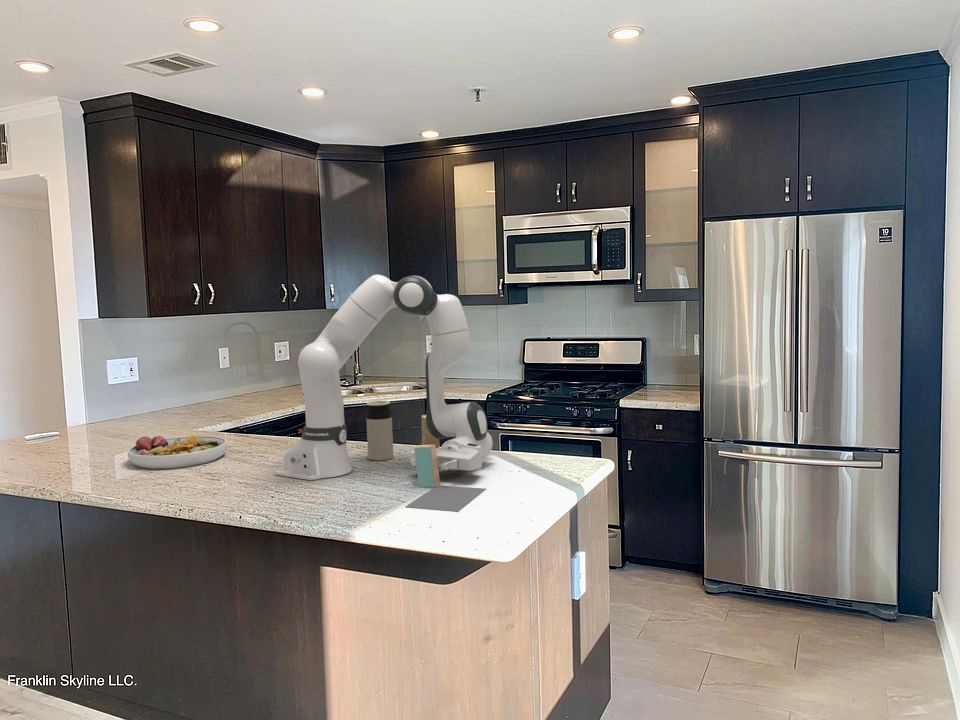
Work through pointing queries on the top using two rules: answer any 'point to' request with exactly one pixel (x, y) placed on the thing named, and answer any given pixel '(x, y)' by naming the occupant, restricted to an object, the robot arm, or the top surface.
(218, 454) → the bowl
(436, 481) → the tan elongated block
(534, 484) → the top surface
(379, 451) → the travel mug
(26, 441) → the top surface
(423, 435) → the skincare box
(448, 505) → the mat
